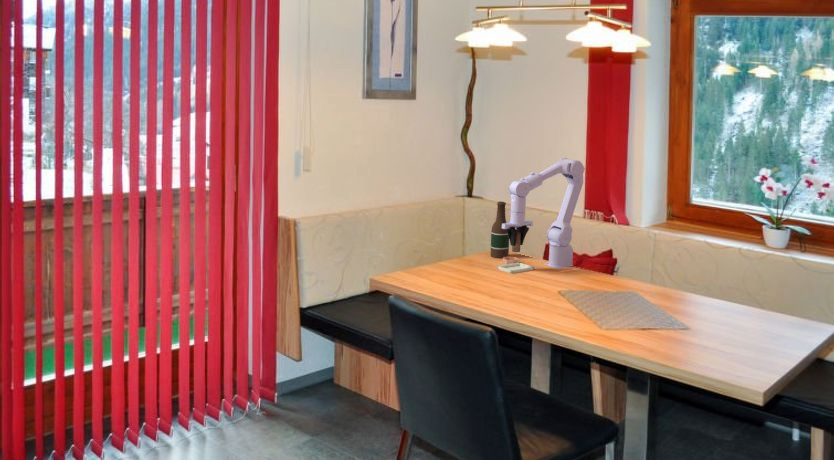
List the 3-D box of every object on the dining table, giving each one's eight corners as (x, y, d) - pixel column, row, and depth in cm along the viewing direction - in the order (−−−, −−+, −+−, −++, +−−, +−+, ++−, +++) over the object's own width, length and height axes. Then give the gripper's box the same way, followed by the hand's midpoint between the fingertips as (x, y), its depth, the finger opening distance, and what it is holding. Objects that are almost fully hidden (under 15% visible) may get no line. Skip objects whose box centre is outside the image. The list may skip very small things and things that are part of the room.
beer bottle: (506, 255, 380) (509, 200, 376) (509, 259, 373) (512, 203, 368) (489, 255, 380) (491, 200, 375) (491, 259, 372) (493, 203, 368)
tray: (519, 266, 361) (519, 262, 361) (534, 271, 354) (534, 267, 354) (496, 269, 355) (496, 266, 354) (511, 274, 347) (511, 270, 347)
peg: (516, 250, 355) (517, 231, 354) (521, 251, 352) (522, 233, 351) (510, 250, 354) (511, 232, 352) (515, 252, 351) (515, 233, 349)
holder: (511, 261, 369) (511, 256, 368) (521, 265, 364) (521, 259, 363) (499, 263, 365) (499, 257, 365) (509, 266, 360) (509, 260, 360)
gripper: (525, 208, 357) (523, 241, 360) (497, 211, 349) (496, 245, 352) (536, 211, 351) (535, 244, 354) (508, 214, 343) (507, 248, 346)
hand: (516, 245), depth 352 cm, fingers closed on peg, 3 cm apart
